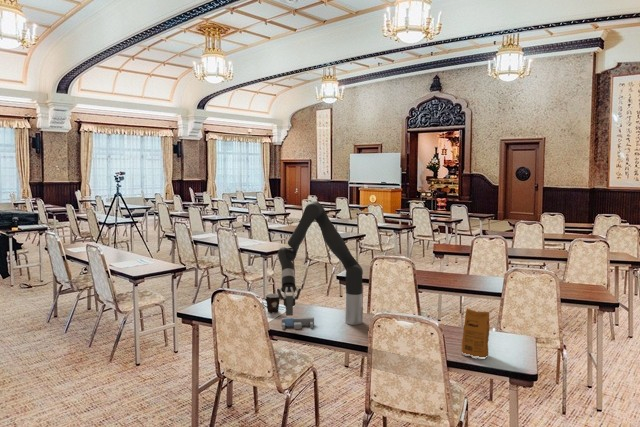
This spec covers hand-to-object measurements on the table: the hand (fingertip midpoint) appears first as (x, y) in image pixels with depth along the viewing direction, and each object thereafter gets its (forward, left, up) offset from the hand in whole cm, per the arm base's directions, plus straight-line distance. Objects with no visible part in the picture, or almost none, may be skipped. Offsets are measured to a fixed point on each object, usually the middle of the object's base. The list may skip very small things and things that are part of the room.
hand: (289, 305), depth 262 cm
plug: (0, -2, -6) cm, 6 cm away
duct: (-5, -4, -13) cm, 15 cm away
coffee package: (-84, +46, -13) cm, 97 cm away
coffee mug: (+9, -34, -13) cm, 38 cm away
